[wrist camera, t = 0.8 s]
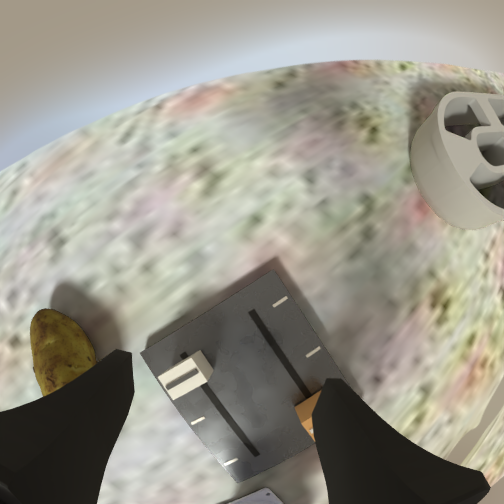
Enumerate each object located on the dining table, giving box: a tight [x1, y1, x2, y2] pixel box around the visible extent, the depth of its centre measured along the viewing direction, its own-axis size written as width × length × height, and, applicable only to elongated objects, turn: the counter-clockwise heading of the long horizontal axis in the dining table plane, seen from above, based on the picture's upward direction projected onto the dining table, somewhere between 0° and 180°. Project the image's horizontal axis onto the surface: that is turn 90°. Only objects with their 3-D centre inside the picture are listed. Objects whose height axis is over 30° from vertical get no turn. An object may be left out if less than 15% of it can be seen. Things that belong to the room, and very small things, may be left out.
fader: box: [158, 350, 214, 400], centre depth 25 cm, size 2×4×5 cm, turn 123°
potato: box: [30, 309, 97, 397], centre depth 25 cm, size 8×13×8 cm, turn 19°
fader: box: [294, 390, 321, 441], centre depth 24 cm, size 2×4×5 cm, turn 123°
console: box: [140, 269, 351, 483], centre depth 28 cm, size 18×16×2 cm
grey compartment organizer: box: [410, 91, 504, 230], centre depth 29 cm, size 17×28×9 cm, turn 106°
